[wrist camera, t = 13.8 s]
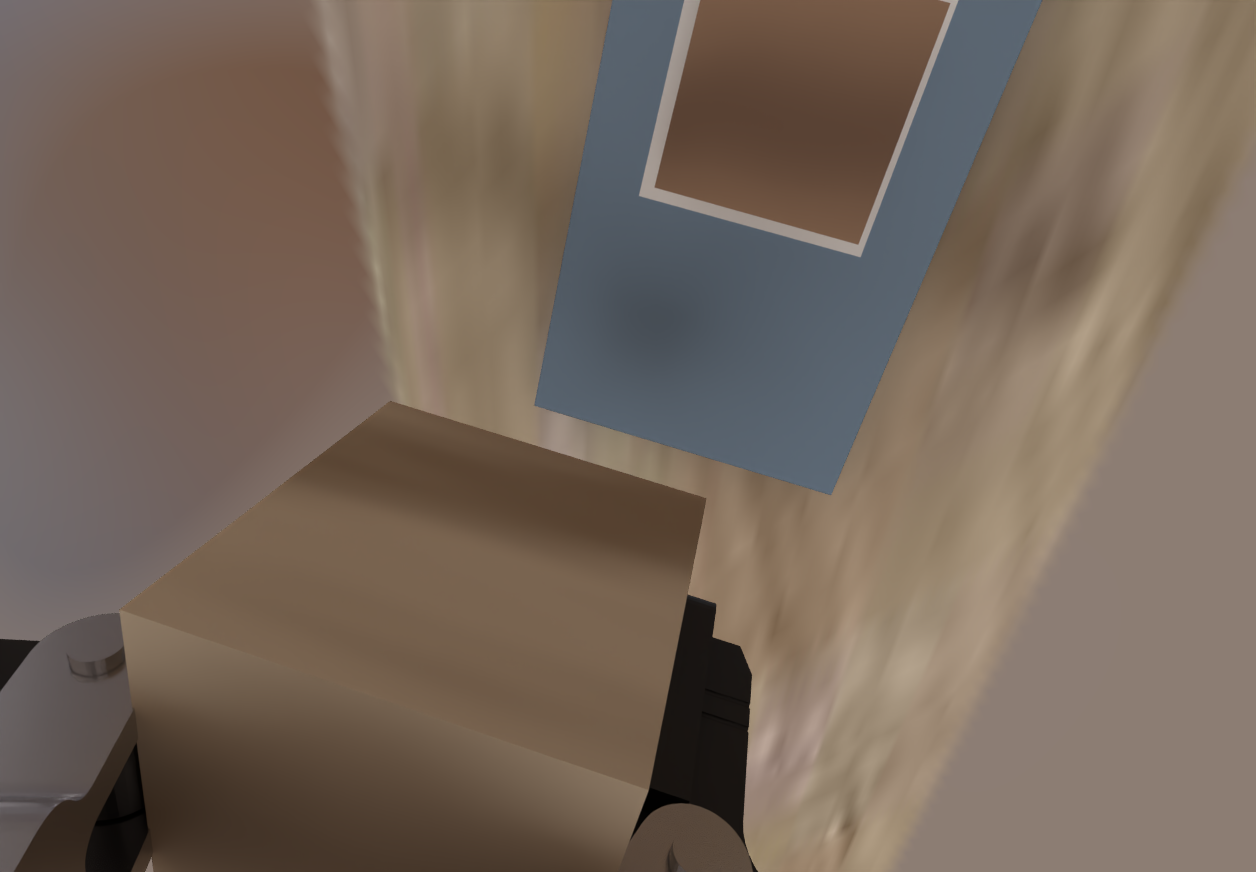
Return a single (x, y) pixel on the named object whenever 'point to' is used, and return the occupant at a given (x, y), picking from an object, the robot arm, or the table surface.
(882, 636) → the table surface
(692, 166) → the walnut block
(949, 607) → the table surface
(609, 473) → the maple block
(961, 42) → the board
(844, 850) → the table surface
